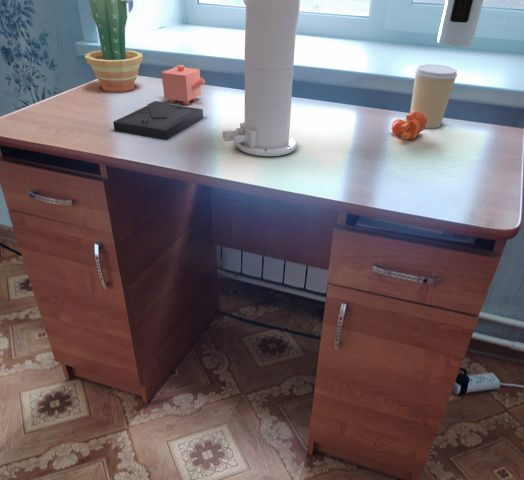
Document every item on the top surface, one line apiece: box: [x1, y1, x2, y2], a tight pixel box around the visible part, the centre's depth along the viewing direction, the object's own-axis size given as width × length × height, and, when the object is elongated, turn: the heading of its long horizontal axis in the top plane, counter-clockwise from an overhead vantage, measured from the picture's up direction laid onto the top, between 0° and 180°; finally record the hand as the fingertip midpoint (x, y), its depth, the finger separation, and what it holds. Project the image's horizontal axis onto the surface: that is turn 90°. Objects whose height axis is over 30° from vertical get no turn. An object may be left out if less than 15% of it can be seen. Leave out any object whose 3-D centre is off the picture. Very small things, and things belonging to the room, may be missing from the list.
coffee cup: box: [409, 64, 458, 129], centre depth 120 cm, size 9×9×12 cm
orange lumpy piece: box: [390, 110, 427, 140], centre depth 115 cm, size 5×8×12 cm
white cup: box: [436, 0, 484, 47], centre depth 96 cm, size 7×7×9 cm
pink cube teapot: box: [161, 64, 206, 105], centre depth 130 cm, size 8×12×8 cm, turn 69°
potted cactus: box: [84, 0, 143, 93], centre depth 133 cm, size 15×15×25 cm
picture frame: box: [112, 100, 204, 140], centre depth 117 cm, size 13×2×18 cm
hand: (459, 18), depth 97 cm, fingers closed on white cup, 6 cm apart
